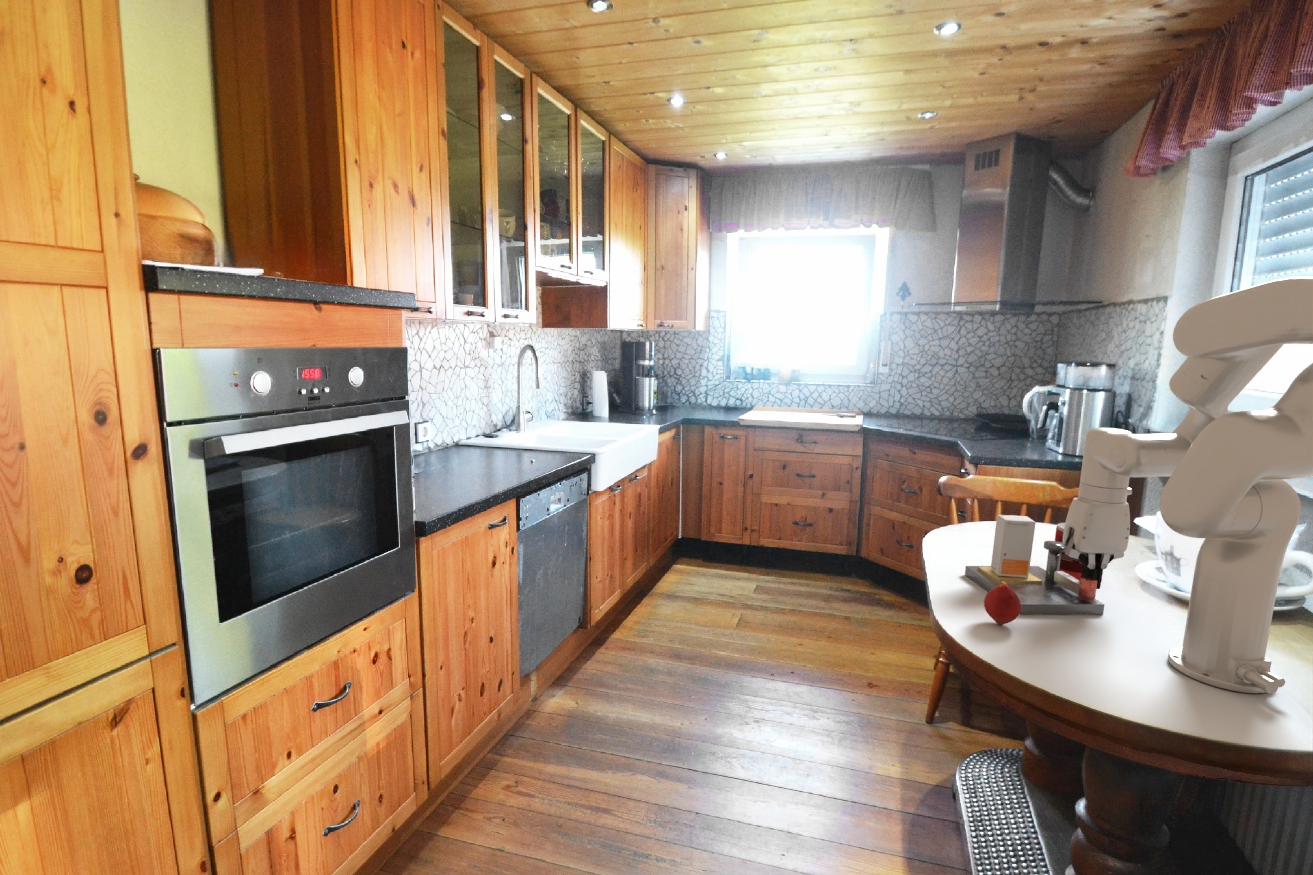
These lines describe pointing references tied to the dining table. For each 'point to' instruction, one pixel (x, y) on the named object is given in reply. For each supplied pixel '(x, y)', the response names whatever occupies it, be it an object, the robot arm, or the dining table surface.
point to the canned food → (1067, 557)
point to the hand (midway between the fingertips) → (1090, 586)
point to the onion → (1002, 604)
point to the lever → (1077, 585)
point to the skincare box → (1012, 545)
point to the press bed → (1039, 587)
